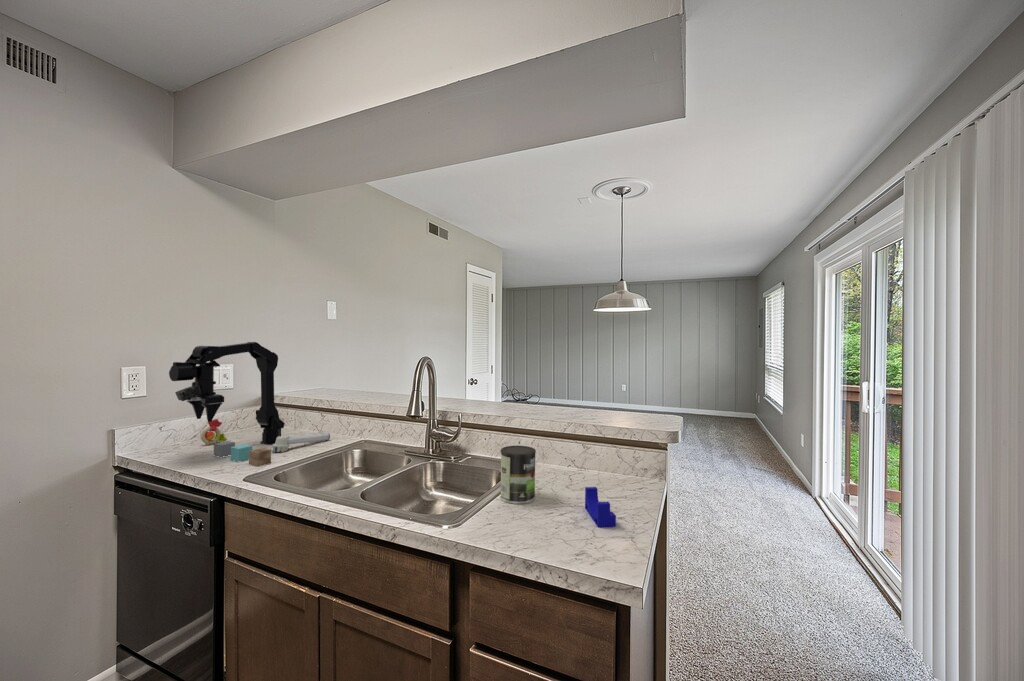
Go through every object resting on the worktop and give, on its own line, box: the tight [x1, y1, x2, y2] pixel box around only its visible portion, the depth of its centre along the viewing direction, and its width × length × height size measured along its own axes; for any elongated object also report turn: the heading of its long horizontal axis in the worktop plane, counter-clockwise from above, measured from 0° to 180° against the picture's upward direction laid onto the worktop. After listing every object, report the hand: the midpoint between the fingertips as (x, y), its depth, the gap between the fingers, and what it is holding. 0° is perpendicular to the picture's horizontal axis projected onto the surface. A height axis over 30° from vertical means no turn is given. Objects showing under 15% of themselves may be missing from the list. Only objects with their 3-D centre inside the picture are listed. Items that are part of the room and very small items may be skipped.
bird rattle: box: [200, 418, 228, 446], centre depth 179 cm, size 6×11×9 cm
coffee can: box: [500, 445, 537, 505], centre depth 123 cm, size 10×10×14 cm
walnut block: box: [248, 447, 272, 467], centre depth 152 cm, size 5×5×5 cm
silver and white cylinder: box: [272, 431, 331, 453], centre depth 178 cm, size 5×7×25 cm
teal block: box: [230, 443, 254, 462], centre depth 157 cm, size 5×5×5 cm
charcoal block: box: [213, 440, 236, 457], centre depth 162 cm, size 5×5×5 cm
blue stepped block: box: [584, 486, 617, 528], centre depth 110 cm, size 12×4×6 cm, turn 6°
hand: (204, 420), depth 158 cm, fingers open, 9 cm apart
